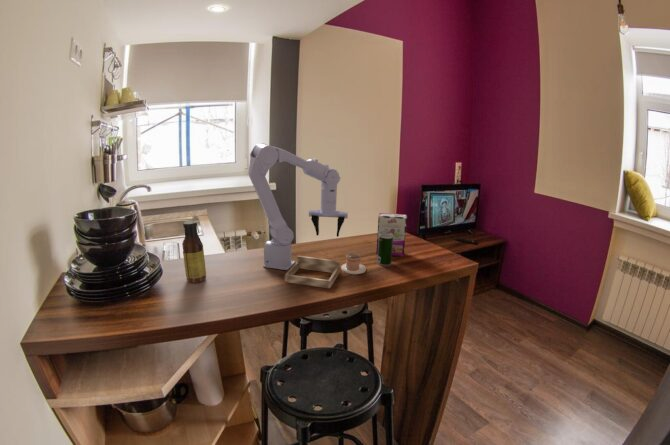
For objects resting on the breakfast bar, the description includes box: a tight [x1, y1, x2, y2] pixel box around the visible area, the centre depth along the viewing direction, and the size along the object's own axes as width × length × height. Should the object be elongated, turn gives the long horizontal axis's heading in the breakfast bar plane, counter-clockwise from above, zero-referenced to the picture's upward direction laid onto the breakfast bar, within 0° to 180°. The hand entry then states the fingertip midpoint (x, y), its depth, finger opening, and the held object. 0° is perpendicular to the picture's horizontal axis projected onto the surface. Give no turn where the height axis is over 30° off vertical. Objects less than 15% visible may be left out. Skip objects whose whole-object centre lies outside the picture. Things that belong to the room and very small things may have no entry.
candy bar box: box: [375, 212, 408, 257], centre depth 148 cm, size 11×5×16 cm, turn 81°
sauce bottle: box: [181, 220, 207, 284], centre depth 119 cm, size 7×6×20 cm
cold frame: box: [284, 255, 341, 289], centre depth 126 cm, size 16×13×4 cm
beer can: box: [376, 232, 394, 267], centre depth 138 cm, size 5×5×12 cm
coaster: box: [340, 263, 367, 276], centre depth 134 cm, size 9×9×1 cm
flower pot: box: [345, 253, 362, 271], centre depth 133 cm, size 5×5×5 cm
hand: (327, 235), depth 140 cm, fingers open, 7 cm apart
